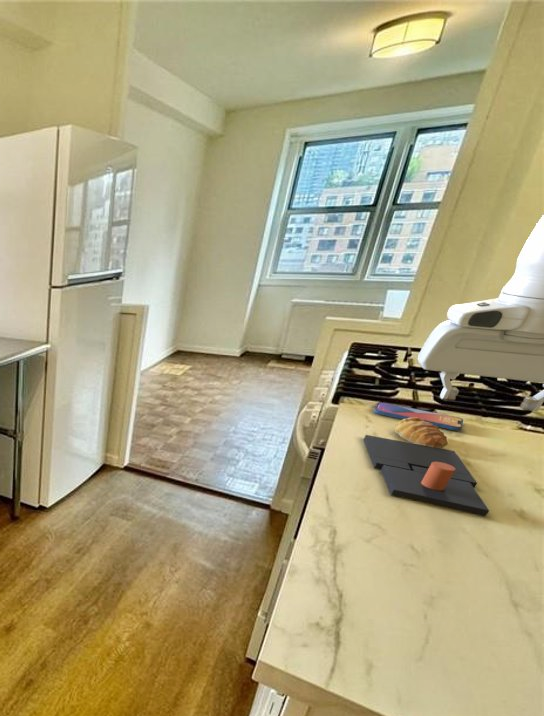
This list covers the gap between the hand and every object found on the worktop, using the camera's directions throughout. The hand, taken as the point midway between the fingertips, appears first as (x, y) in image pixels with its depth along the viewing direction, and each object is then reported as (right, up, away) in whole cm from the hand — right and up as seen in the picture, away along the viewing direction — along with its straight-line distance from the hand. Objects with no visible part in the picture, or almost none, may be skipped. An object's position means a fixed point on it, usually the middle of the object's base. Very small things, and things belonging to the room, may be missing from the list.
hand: (486, 403), depth 77 cm
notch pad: (+5, -10, +17) cm, 20 cm away
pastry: (+14, -5, +25) cm, 30 cm away
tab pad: (-1, -14, +8) cm, 16 cm away
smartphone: (+23, 0, +35) cm, 42 cm away
